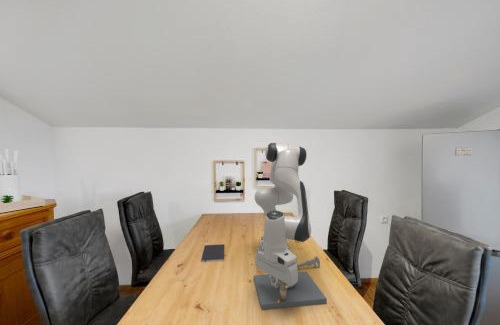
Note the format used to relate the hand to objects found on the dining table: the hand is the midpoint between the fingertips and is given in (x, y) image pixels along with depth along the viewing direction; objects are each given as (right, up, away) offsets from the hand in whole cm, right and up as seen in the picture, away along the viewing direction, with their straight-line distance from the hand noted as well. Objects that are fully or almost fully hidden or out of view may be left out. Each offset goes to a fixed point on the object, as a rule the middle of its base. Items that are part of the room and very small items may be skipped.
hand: (275, 286), depth 88 cm
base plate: (+6, -5, +6) cm, 10 cm away
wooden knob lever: (+5, -3, +4) cm, 7 cm away
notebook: (-32, -6, +45) cm, 55 cm away
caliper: (+16, -6, +24) cm, 30 cm away
